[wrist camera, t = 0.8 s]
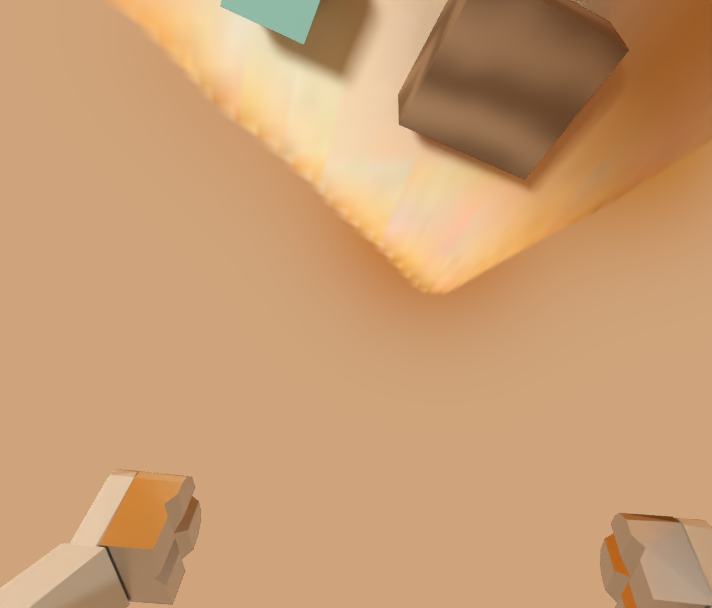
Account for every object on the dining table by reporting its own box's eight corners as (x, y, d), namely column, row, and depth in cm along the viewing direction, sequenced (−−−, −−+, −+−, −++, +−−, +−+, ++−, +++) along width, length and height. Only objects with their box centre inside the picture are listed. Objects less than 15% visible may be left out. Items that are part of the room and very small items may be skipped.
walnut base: (475, -53, 39) (483, -30, 36) (610, 22, 42) (629, 49, 39) (398, 94, 47) (398, 124, 44) (515, 147, 51) (524, 179, 47)
